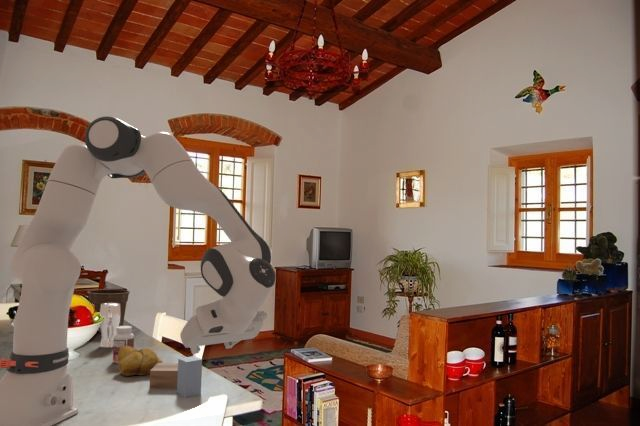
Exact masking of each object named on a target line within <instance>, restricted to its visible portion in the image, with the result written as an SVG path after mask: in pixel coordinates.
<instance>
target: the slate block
mask: <svg viewBox="0 0 640 426" xmlns="http://www.w3.org/2000/svg"><path fill="white" fill-rule="evenodd" d="M177 359H178V361H177V363H178V381H177V389H176V393H177V394H178V395H180V396H181V397H183V398H189V397H193V396H199V395H201V394H202V377H203V376H202V374H203V373H202V371H203V359H202V358H199V357H198V356H194V355H191V356H187V357H180V358H177Z"/></svg>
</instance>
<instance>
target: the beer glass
mask: <svg viewBox="0 0 640 426" xmlns="http://www.w3.org/2000/svg"><path fill="white" fill-rule="evenodd" d="M100 316H101V317H103V318H104V321H103V322H102V323H101V325H100V328H101V333H100V335H101V336H100V337H101V338H100V342H99V348H103V349H104V348H105V349H108V348H110V349H112V348H113V342H114V335H115V334H117V332H116V328H117V327H119V323H120V303H103V304H101V308H100Z"/></svg>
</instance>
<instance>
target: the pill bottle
mask: <svg viewBox="0 0 640 426" xmlns="http://www.w3.org/2000/svg"><path fill="white" fill-rule="evenodd" d="M132 330H133V326H131V325H123V326H119V327H117V328H116V332H117V334H115V335H114V342H113V347H112V348H113V349H112V361H113V363H114V364H116V365H117V364H118V365H119V359H118V352H119V350H120V348H121V347H122V346H124V345H128V346H130V347H133V348H135V347H134V346H135V335H134V333H132Z"/></svg>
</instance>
